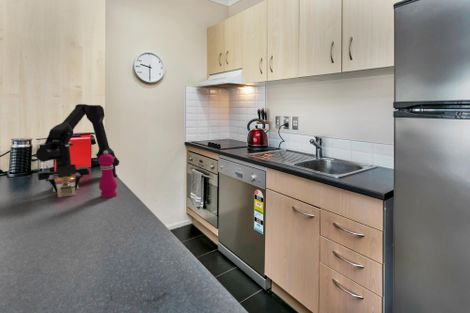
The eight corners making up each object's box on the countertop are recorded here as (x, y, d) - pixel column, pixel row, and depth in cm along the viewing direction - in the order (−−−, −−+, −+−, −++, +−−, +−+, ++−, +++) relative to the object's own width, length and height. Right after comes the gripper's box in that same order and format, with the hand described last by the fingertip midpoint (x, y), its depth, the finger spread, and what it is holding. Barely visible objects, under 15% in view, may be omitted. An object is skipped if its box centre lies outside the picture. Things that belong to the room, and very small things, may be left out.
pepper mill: (96, 196, 119) (92, 151, 116) (110, 192, 126) (107, 148, 122) (107, 199, 116) (103, 152, 112) (121, 194, 122) (118, 150, 119)
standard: (53, 186, 133) (51, 166, 131) (77, 183, 139) (75, 164, 137) (53, 192, 125) (50, 170, 123) (78, 188, 130) (76, 168, 128)
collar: (57, 193, 124) (57, 186, 123) (74, 191, 127) (74, 184, 127) (58, 197, 118) (57, 190, 118) (75, 194, 122) (75, 188, 121)
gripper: (35, 162, 108) (40, 200, 111) (88, 158, 118) (92, 193, 121) (36, 158, 117) (41, 193, 120) (86, 154, 127) (89, 187, 130)
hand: (66, 191), depth 122 cm, fingers closed on collar, 7 cm apart
